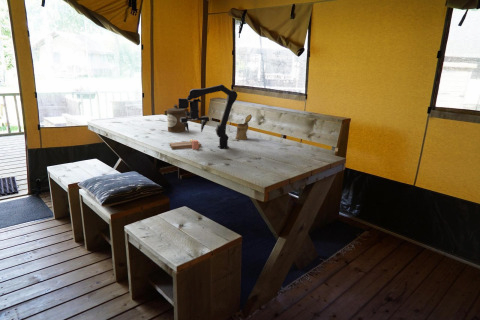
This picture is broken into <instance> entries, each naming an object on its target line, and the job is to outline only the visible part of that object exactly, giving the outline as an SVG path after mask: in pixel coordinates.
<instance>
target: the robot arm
mask: <svg viewBox="0 0 480 320" xmlns="http://www.w3.org/2000/svg"><path fill="white" fill-rule="evenodd" d="M218 92H223V93H224V94H225V95H226V105H225V106H224V110H223V113H222V116H221V120H220V123H219V124H217V123H216V128H215V134H216V136H217V137H218V139H219V140H218V141H219V143H218V144H219V145H217V147H218V148H219V149H221V150H222V149H230V147H229V146H228V145H229V144H228V142H229V141H228V140H229V138H230V137H229V136H228V134H227V133H226V132H227V124H228V121H229V117H230V115H231V112H232V111H231V110H232V107H233V105H234V103H235V102H236V100H237V98H238V93H237V92H236V91H235V90H232V89H230V88H228V87H226V86H225V85H224V84H223V83H222V84H218V85H214V86H209V87H205V88H192V89H190V90H189V92H188V93H189V94H188V95H187V96H186V98H182V97H181V98H180V97H178V101H177V102H178V104H177V105H178V108H179V109H185V117H180V122H181V123H183V124H184V125H185V126H186V131H187V133H189V130H190V129H189V122H193V121H196V122H197V121H200V132H203V130H204V128H205V126H206V124H208V122H210V117H209V116H207V115H201V117H200V106H199V103H201V102H202V99H200V97H202V96H204V95H208V94H213V93H218ZM188 108H189V111H187V109H188Z"/></svg>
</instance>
